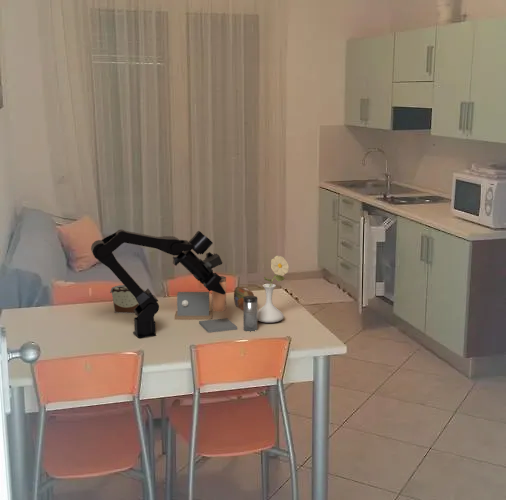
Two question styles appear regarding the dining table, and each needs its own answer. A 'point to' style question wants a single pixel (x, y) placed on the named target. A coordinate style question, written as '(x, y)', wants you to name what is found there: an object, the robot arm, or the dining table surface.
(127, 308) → the food container
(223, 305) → the cylinder
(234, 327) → the mat
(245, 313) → the cylinder
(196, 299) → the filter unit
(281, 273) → the flower in vase
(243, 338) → the dining table surface
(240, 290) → the tin
